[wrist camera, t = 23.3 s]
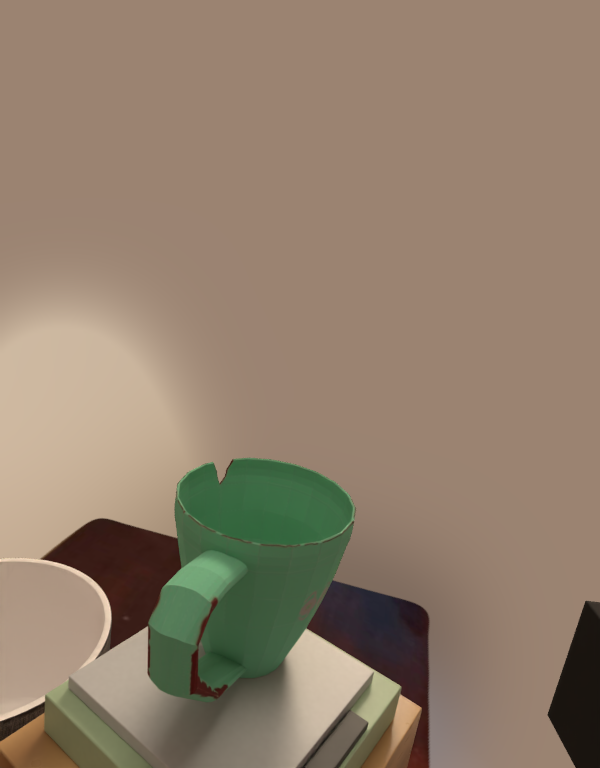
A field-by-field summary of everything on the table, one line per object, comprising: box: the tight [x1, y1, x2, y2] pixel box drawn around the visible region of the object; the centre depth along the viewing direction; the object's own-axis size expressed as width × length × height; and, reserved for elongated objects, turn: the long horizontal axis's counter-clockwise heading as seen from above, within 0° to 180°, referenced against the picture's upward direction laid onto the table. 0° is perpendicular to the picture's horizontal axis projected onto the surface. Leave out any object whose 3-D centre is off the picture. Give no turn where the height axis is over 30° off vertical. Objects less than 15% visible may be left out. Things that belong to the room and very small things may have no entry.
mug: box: [147, 458, 356, 702], centre depth 29 cm, size 15×10×10 cm
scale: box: [44, 627, 401, 768], centre depth 31 cm, size 14×14×3 cm
